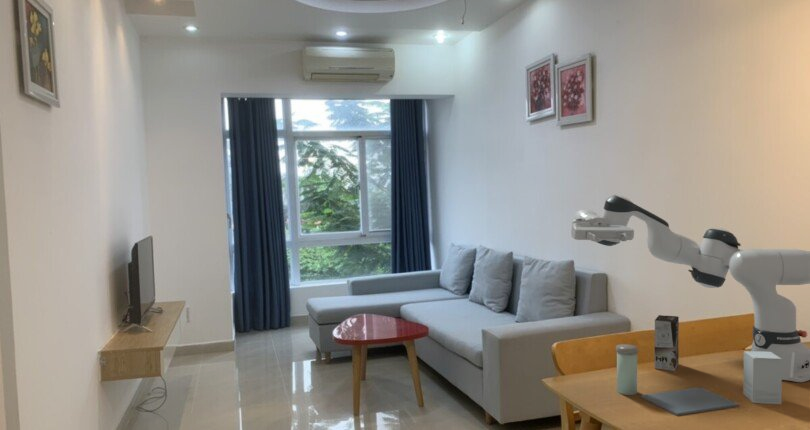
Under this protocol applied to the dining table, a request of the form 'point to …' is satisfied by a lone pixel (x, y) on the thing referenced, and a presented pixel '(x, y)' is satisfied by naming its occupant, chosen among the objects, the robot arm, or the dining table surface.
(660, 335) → the coffee box
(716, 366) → the dining table surface
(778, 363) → the supplement box
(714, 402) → the cutting board
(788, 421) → the dining table surface
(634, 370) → the ceramic jar
